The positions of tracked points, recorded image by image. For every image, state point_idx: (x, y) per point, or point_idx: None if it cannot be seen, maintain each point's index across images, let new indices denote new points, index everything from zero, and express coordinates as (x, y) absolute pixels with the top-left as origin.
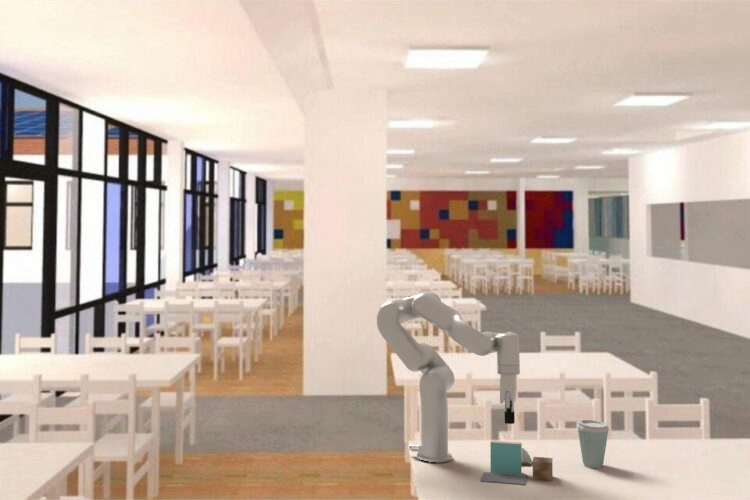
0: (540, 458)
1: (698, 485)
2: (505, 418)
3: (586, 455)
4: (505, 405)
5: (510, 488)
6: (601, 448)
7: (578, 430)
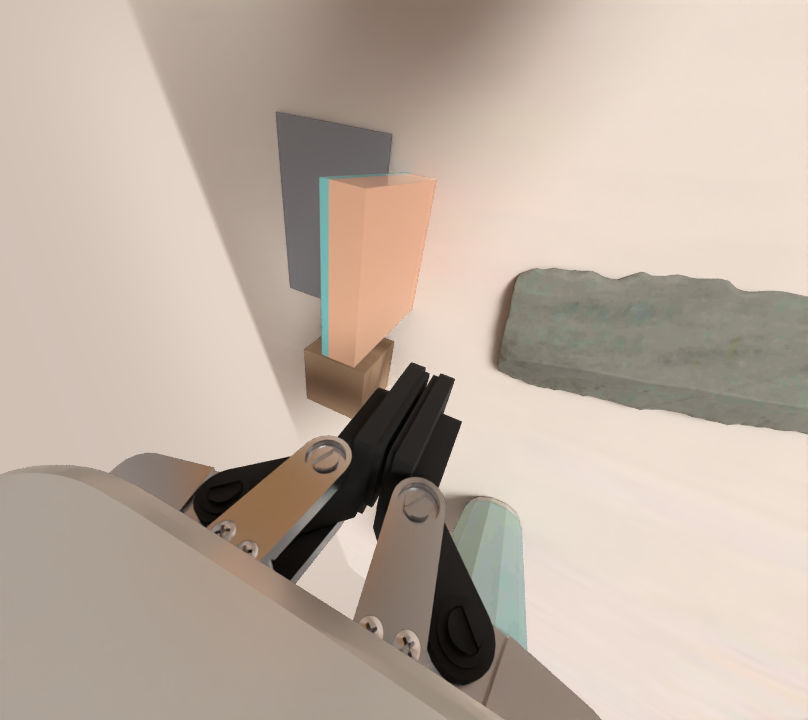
0: (347, 387)
1: (372, 557)
2: (390, 392)
3: (464, 523)
4: (234, 511)
5: (252, 233)
6: None
7: None
